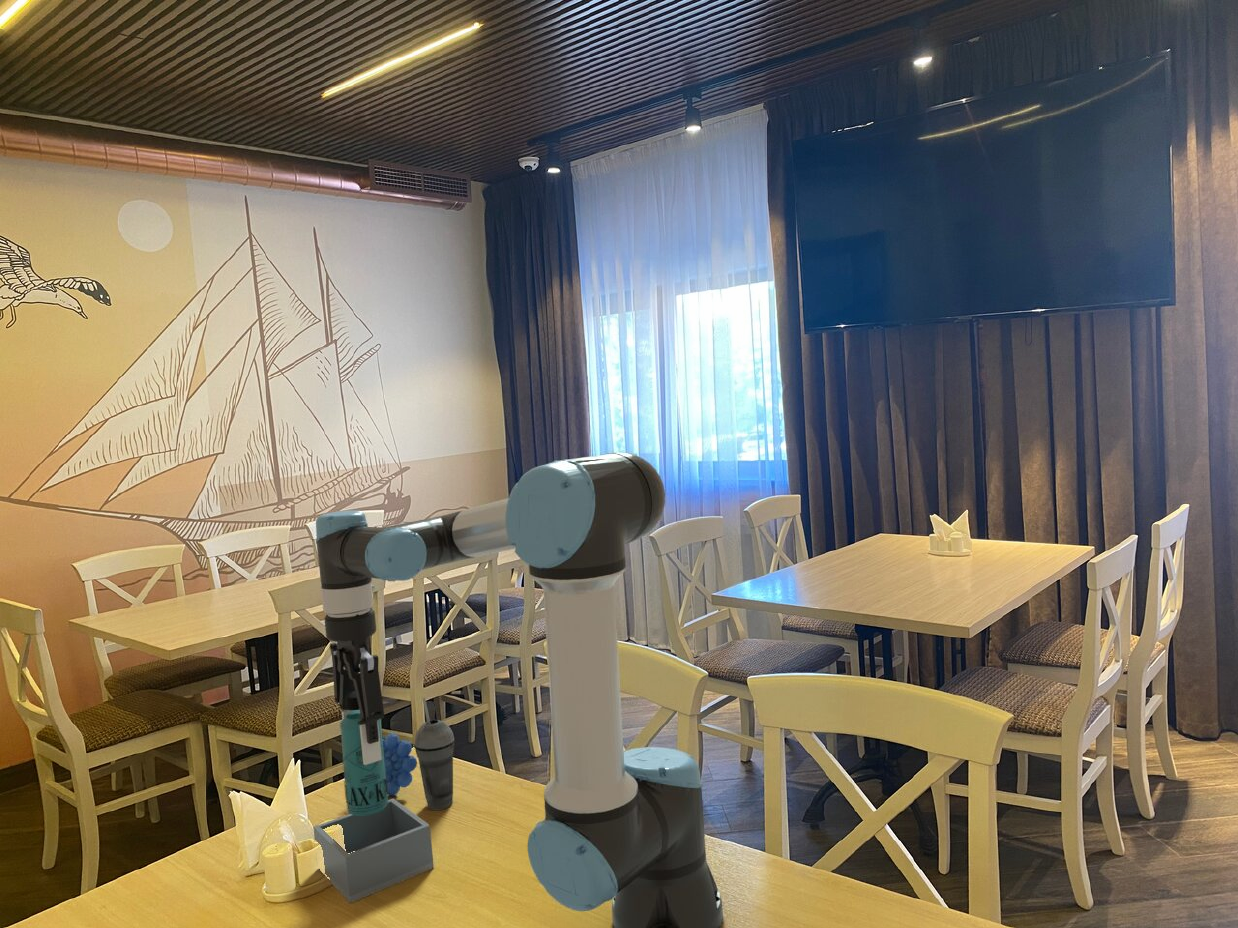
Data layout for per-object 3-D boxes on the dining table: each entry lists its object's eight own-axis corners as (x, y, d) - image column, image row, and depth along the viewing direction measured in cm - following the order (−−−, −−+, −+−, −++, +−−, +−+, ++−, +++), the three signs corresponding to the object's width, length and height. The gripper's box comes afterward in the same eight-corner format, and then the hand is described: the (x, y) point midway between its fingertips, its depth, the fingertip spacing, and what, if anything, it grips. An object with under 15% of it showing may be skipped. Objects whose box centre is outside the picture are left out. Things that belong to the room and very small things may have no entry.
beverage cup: (456, 812, 161) (446, 702, 159) (415, 814, 161) (405, 705, 160) (463, 793, 168) (454, 689, 167) (425, 796, 168) (415, 691, 167)
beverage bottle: (339, 818, 143) (327, 695, 141) (376, 802, 148) (364, 682, 146) (361, 830, 138) (349, 702, 137) (399, 813, 143) (387, 690, 141)
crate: (433, 867, 142) (429, 825, 142) (350, 902, 134) (345, 857, 133) (397, 838, 153) (393, 798, 152) (317, 868, 145) (313, 826, 144)
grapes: (430, 786, 173) (424, 725, 172) (413, 802, 166) (407, 739, 165) (376, 783, 176) (370, 723, 175) (357, 799, 169) (351, 737, 168)
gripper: (398, 615, 135) (412, 765, 137) (348, 597, 150) (361, 732, 152) (350, 626, 130) (365, 781, 132) (303, 606, 145) (317, 745, 147)
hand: (363, 754), depth 142 cm, fingers closed on beverage bottle, 6 cm apart
